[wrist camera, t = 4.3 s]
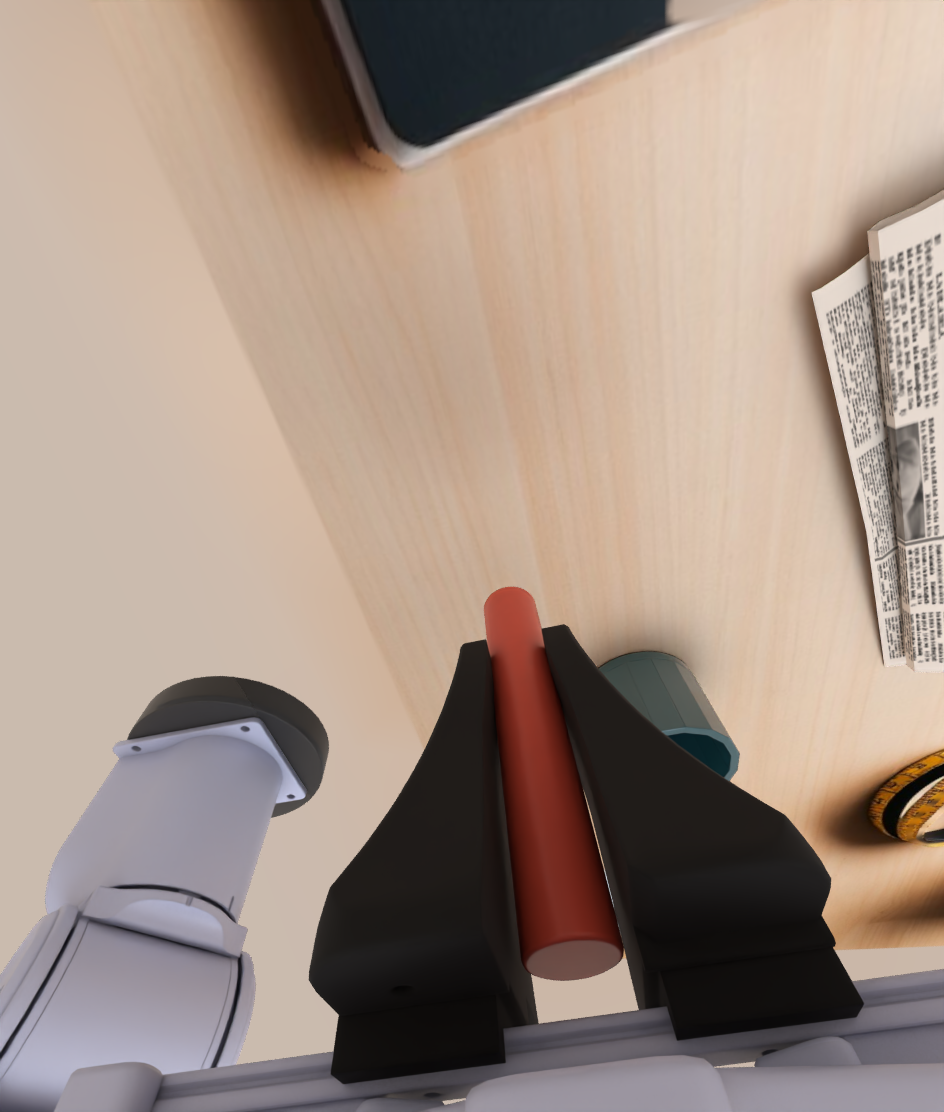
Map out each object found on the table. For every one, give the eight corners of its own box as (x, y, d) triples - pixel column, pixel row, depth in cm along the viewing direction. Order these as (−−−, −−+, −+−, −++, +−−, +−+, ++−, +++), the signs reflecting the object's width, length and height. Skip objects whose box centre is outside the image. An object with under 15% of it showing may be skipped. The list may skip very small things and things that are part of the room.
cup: (584, 739, 29) (607, 821, 25) (574, 663, 26) (599, 742, 22) (691, 721, 29) (734, 801, 25) (695, 641, 26) (744, 717, 21)
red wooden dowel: (489, 630, 16) (529, 988, 8) (478, 591, 15) (513, 947, 7) (538, 621, 16) (628, 974, 8) (531, 580, 15) (623, 931, 7)
